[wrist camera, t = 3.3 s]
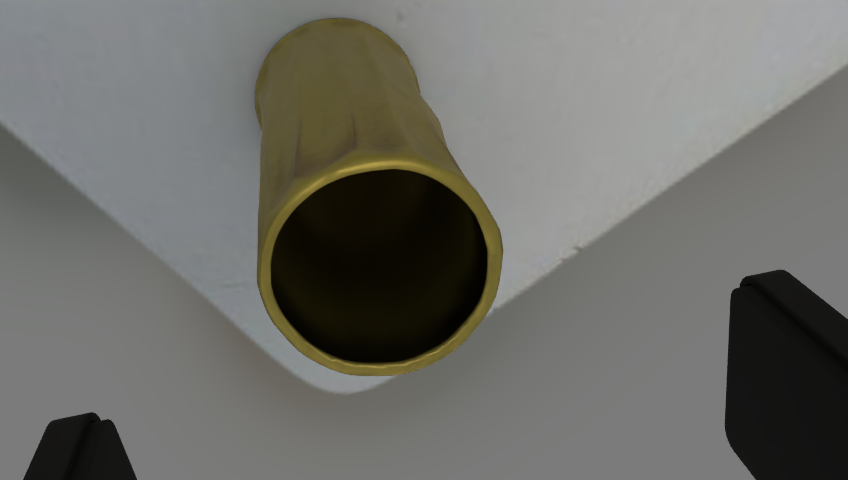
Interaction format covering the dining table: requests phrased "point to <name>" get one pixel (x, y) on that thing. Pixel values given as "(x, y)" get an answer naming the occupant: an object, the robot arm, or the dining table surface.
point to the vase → (365, 208)
